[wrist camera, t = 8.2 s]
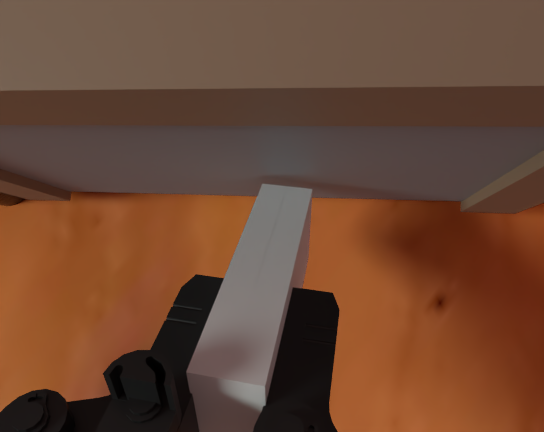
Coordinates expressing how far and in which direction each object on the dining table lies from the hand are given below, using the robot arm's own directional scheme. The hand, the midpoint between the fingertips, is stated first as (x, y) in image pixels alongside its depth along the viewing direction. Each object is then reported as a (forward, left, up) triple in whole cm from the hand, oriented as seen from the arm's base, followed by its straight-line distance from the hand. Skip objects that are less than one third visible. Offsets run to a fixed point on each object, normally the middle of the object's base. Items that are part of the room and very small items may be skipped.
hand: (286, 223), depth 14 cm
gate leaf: (-3, 0, -3) cm, 4 cm away
